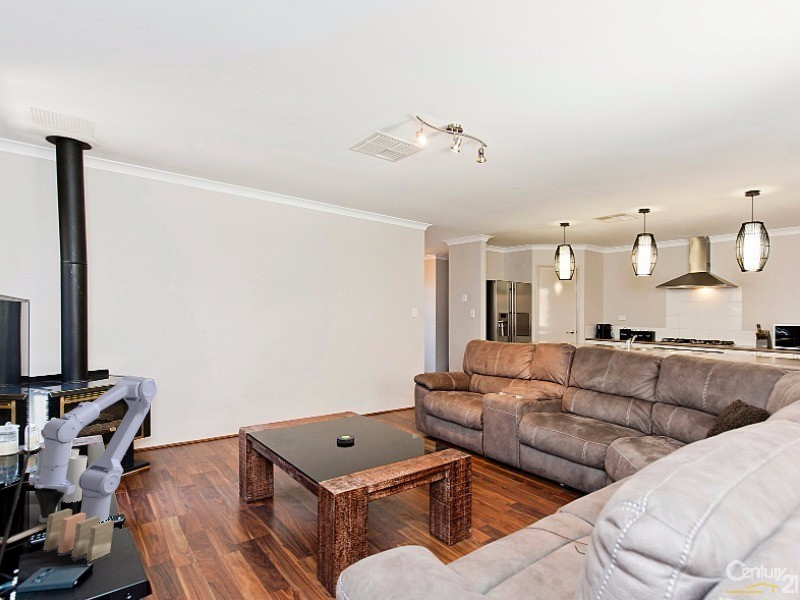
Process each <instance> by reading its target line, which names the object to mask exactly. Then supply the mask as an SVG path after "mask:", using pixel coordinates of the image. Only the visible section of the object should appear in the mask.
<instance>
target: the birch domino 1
mask: <svg viewBox="0 0 800 600" xmlns="http://www.w3.org/2000/svg"><path fill="white" fill-rule="evenodd" d="M70 516H73V509H71V508H65V509H63V510H60V511H56V513H53V514H50V515H49V517H48V523H46V524H47V525H46V532H45V538H44V545H43V550H49V549H52V548H55V547H57V546H59V540H60V533H61V526H62V520H63V519H64V518H67V517H70Z"/></svg>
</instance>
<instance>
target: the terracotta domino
mask: <svg viewBox="0 0 800 600" xmlns="http://www.w3.org/2000/svg"><path fill="white" fill-rule="evenodd" d="M85 517H86V513H82V512H81V511H80V512H79V513H76V514H72V516H70V517H67V518H64V519H63V520H62V526H61V533H60V540H59V547H58V549H57V553H58V552H59V553H65V552H67V551H69V550H72V549H73V544H74V537H75V530H76V523H78V522H81V521H84V520H85Z"/></svg>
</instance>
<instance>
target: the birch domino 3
mask: <svg viewBox="0 0 800 600" xmlns="http://www.w3.org/2000/svg"><path fill="white" fill-rule="evenodd" d="M114 524H115V521H114V520H111V519H110V520H109V521H106V522H104V523H101V524H98V525H96V526H93V527H91V531H90V538H89V545H88V552H87V557H86V560H89V561H92V560H94V559H97V558H99V557H102V556H104V555H106V554H108V553H111V546H112V540H113V533H114Z"/></svg>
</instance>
